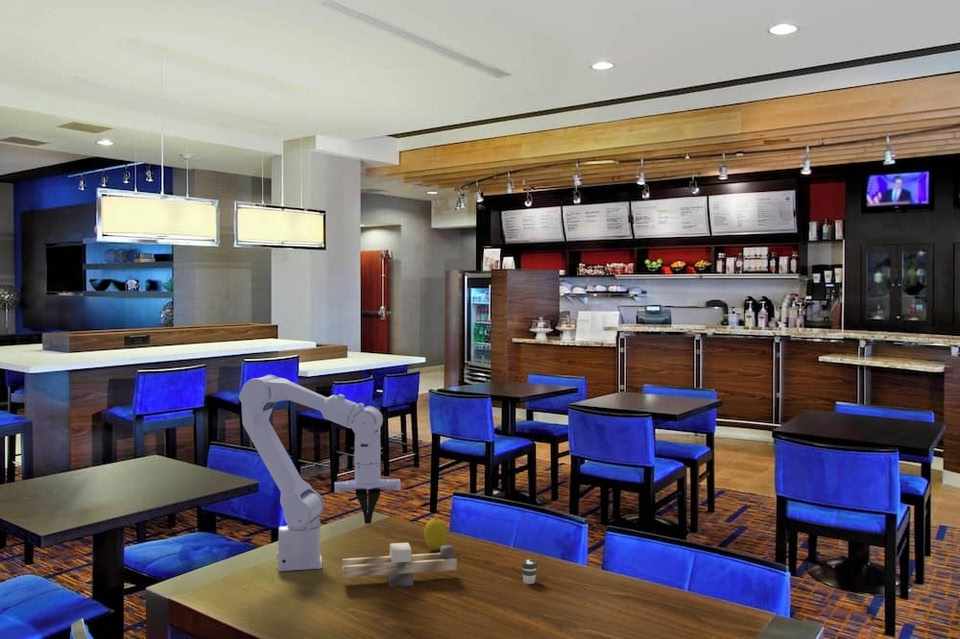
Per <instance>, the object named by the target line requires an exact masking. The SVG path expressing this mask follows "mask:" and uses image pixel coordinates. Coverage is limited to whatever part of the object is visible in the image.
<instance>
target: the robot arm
mask: <svg viewBox="0 0 960 639" xmlns="http://www.w3.org/2000/svg"><path fill="white" fill-rule="evenodd" d="M345 397H346V395H344V394H341V393H339V394H338V395H337V394H332V395H330V396H325V395H322V394H320V393H317V392H315V391H312V390H310V389H308V388H306V387H304V386H302V385H300V384H298V383H295V382H293V381H290V380H289V379H287V378H283V377H278V376H276V375H273V374H266V375H264V376H262V377H257V378H251V379H249V380H246V381H245V382H244V384H243V385H242V388H241V390H240V392H239V395H238V399H239V401H240V403H241V420H242V425H243V427H244V429H245V431H246V432H247V436H248V437H249V438H250V440H251V442H252V444H253V445H254V447H255V449H256V450H257V452H258V454H259V456H260V458H261V459H262V461H263V463H264V464H265V467H266V469H267V470H268V472H269V474H270V476H271V477H272V479H273V481H274V482H275V485H276V486H277V489H278V490H279V491H280V499H279V500H280V501H279V503H280V506H281V507H282V510H283V511H282V512H283V519H284V522H285V523H286V524H287V525H284V526H279V527H278V542H277V543H278V544H277V545H278V546H277V549H278V551H276V560H277V562H278V563H277V564H278V566H277V571H278V572H286V571H287V572H288V571H299V570H300V571H303V570H319V569H322V568H323V561H322V555H321V520H320V515H321V514H322V512H323V511H324V508H325V501H324V499H323V497H322V496H321V494H319V493H318V492H316V490H314V488H313V486H312V485H311V484H310V483H308V482H307V481H305V480H304V479H302V477H301V475H300V474H299V472H298V469H297V467H296V465H294V462H293V461H292V459H291V457H290V456H289V454H288V452H287V450H286V448H285V446H284V445H283V443H282V442H281V440H280V438H279V436H278V435H277V432H276V431H275V429H274V427H273V425H272V424H271V422H270V417H271V415H272V411H273V408H274V406H275V405H276V404H277V403H278V402H282V401H291V402H294V403H295V404H296V403H297V404H300V405H302V406H305V407H307V408H308V407H309V408H312V409H313V410H317V411H320V412H321V415H322V417H323V419H326V420H328V421H331V423H332V422H333V423H335V424H338V425H340V426H342V427H345V428H347V429H351V430H352V432H353V433H354V479H351V480H345V481H344V480H343V481H335V482H334V494H336V493H338V494H339V493H341V492H355V496H356V498H357V500H358V502H359V505H360V508H361V510H362V513H363V519H364V524H365V525H366V524H367V525H368V524H372V518H373V514H374V511H375V508H376V505H377V504H378V503H377V502H378V500H379V498H380V496H381V491H382V490H398V491H399V490H401V484H402V482H401V479H400V478H381V476H382V475H381V474H382V473H381V472H382V471H381V430H380V428H381V427H382V425H383V423H384V422H383V421H384V417H383V414H382V412H381V411H380V410H379V409H378V408H376V407H375V406H373V405H368V406H365V403H362V402H359V403H357V402H354V401H351V400H349V399H347V398H345Z"/></svg>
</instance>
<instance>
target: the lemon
mask: <svg viewBox="0 0 960 639" xmlns="http://www.w3.org/2000/svg"><path fill="white" fill-rule="evenodd" d="M423 533H424V535H423V536H424V541H425V543H426V545H427V546H428V547H430V548H432V549H433V550H434V551H438V550H439V549H440V547H441V546H443V545H446V544H445V543H446V541H447V538H448V527H447V524H446V523H445V522H444V521H443V520H442V519H440V518H438V517H436V516H434V518H432V519H430V520H428V522H427V523H426V525H425V527H424V531H423Z"/></svg>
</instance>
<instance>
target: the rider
mask: <svg viewBox="0 0 960 639" xmlns="http://www.w3.org/2000/svg"><path fill="white" fill-rule="evenodd" d="M411 555H412V548H411V546H410V544H409V542H396V543H395V542H394V543H393V542H392V543H389V556H390V558H391V562H392V563H398V562H411Z"/></svg>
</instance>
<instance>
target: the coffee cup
mask: <svg viewBox="0 0 960 639" xmlns="http://www.w3.org/2000/svg"><path fill="white" fill-rule="evenodd" d="M537 568H538V561H536V560H534V559H530V558H528V559H524V560H523V561H522V563H521V569H522V570H521V571H522V580H523V583H524V584H525V585H533V584H535V583H536V576H537V570H538V569H537Z"/></svg>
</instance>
